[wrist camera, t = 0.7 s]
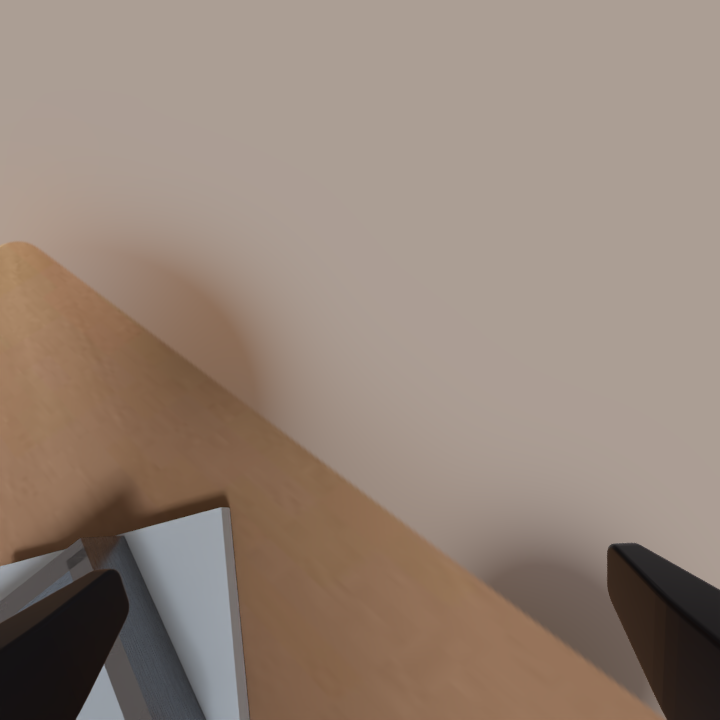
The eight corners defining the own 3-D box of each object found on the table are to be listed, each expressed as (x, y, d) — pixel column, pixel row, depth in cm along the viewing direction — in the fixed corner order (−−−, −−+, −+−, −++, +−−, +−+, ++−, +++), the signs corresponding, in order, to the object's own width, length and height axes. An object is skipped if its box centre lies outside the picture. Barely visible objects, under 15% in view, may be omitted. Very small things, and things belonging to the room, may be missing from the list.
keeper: (213, 734, 18) (173, 774, 15) (40, 889, 17) (-35, 962, 14) (124, 535, 22) (80, 538, 19) (-20, 650, 21) (-88, 670, 18)
